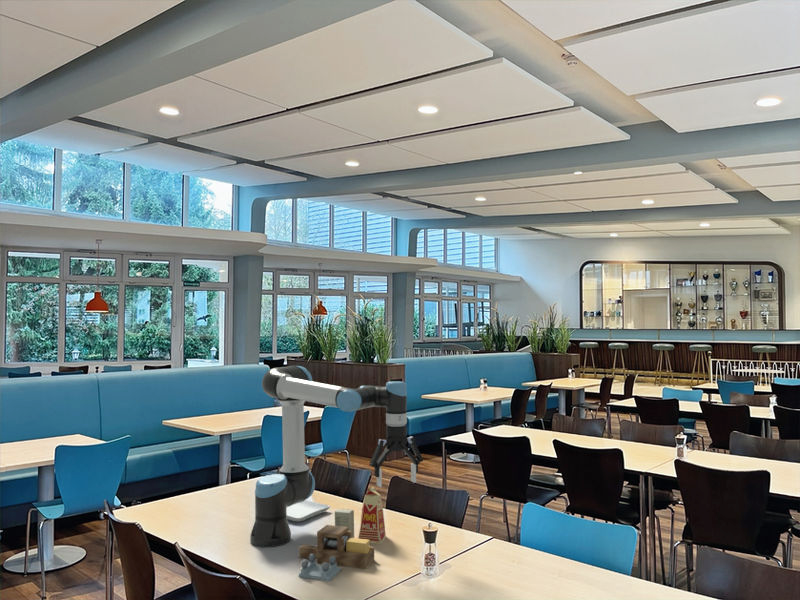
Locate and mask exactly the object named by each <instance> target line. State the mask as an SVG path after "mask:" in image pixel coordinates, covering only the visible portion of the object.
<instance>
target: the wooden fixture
mask: <svg viewBox="0 0 800 600" xmlns="http://www.w3.org/2000/svg"><path fill="white" fill-rule="evenodd" d="M341 536H349V538H352V531H348V527H342V526H335V525H333V524H332V525H331V524H326V525H324V526H323V527H321V529H319V530H318V531H317V532H316V545H310V544H302V545H300V546H298V549H299V551H298V552H299V553H298V556H299V558H303V559H309V556H310V554H315V556H316V558H315V560H316V564H318V563H319V564H323V563H324V562H326V563H329V558H330V556H335V557H336V562H337V566H340V567H341V566H342V567H350V568H358V569H366V570H367V568H368V567H369V566H370V565H371V564H372V563H373V562H374V561H375V546H371V545H370V551H369V552H368V553H367V554H365V553H356V552H348V551H344V538H342V537H341ZM324 537H330V538H337V550H331V549H324ZM329 565H330V563H329Z"/></svg>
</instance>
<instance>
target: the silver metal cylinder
mask: <svg viewBox="0 0 800 600" xmlns="http://www.w3.org/2000/svg"><path fill="white" fill-rule="evenodd" d="M341 537H342V538H344V551H346V541H347V540H349V539H350V538H349V536H341ZM324 549H331V550H337V538H330V537H324Z"/></svg>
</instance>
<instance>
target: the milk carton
mask: <svg viewBox="0 0 800 600" xmlns="http://www.w3.org/2000/svg"><path fill="white" fill-rule="evenodd" d="M360 517H361V518H360V528H359V532H358V537H357V538H359V539H368V540H370V544H380V545H381V544H382V543H383V541H384V540H385V538H386V527H385V526H386V525H385V516H384V507H383V501H382V495H381V494H380V493H379V492H378V491H377V490H375V487H374V486H372V487H369V490H368V492H367V493H365V494H364V497H363V503H362V507H361V514H360Z"/></svg>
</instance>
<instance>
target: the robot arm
mask: <svg viewBox="0 0 800 600" xmlns="http://www.w3.org/2000/svg"><path fill="white" fill-rule="evenodd" d="M261 386H262V390H263V391H264V393H265V394H266V395H267V396H268V397H270V398H275V399H277V401H278V403H279V404H280V405H281V418H282V419H281V420H282V421H281V422H282V425H281V426H282V466H281V467H280V469H279V473H271V474H267V475H265V476H262V477H260V478H259V479H258V480H257V481H256V483H255V489H254V495H255V496H254V497H255V498H254V500H255V501H254V503H255V505H254V506H255V507H254V509H255V511H254V513H255V517H254V523H253V525H252V529H251V532H250V537H249V538H250V543H251V544H252V545H254V546H256V547H262V548H263V547H266V548H267V547H270V548H271V547H278V546H283V545H285V544H287V543H289V542H290V541H291V540H292V533H291V528H290V526H289V521H288V520H287V517H286V515H287V507H289V506H291V505H294V504H296V503H300V502H303V501H304V500H308V499H309V498H311V496H312V495H313V493H314V492H315V489H316V481H315V477H314V476H313V473H312V472H311V471H310V467H309V466H308V465H307V464H306V455H305V454H306V451H305V450H306V449H305V411H304V404H305V403H306V402H308V403H314V404H317V405H318V404H319V405H324V406H328V407H334V408H338V409H339V410H340V411H341V412H343V413H344V412H345V413H352V412H355V411H360V410H364V409H369V408H385V424H386V426H385V436H386V437H385V439H381V438H379V439H377V445H376V448H375V450H374V452H373V455H372V457H371V459H370V461H369V466H370V467H372V468H373V469H374V478H376V486H377V487H379V488H382V487H383V485H382V484H383V483H382V482H383V481H382V480H383V477H382V476H383V474H382V473H383V471H382V470H383V469H382V465H383V463H384V462H385V461H386V459H387V458H388V457H389V455H390V454H391V453H392V452H402V451H403V452H404V453H405V454H406V455H407V457H408V459H409V460H411V462H410V482H411V483H413V484H415V483H417V474H418V472H419V465H420V464H421V463H422V462H423V461H424V459H423V457H422V454H421V453H420V450H419V448H418V446H417V444H416V439H415V437H414V436H411V435H410V436H409V437H407V436H408V426H407V423H408V417H407V416H408V415H407V410H408V409H407V408H408V407H407V405H408V404H407V402H408V401H407V399H408V393H407V392H408V390H407V383H406V382H405V381H393V380H392V381H391V380H390V381H387V382H386V383H385V386H379V385H371V384H370V385H360V386H359V387H358V388H351V387H345V386H339V385H334V384H328V383H322V382H319V381H315V380H313V377H312V374H311V372H310V371H309V370H308V369H307V368H306V367H304V366H301V365H290V366H282V367H281V366H280V367H273V368H270V369H269V370H268V371H267V372H266V373H265V374H264V375H263V377H262V380H261ZM406 444H409V445H410V447H411V450H412V451H410V449H409V448H408V446H407V445H406ZM385 445H386V446H385ZM384 446H385V448H384ZM383 448H384V450H383ZM382 451H383V452H382ZM412 452H413V453H412Z"/></svg>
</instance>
